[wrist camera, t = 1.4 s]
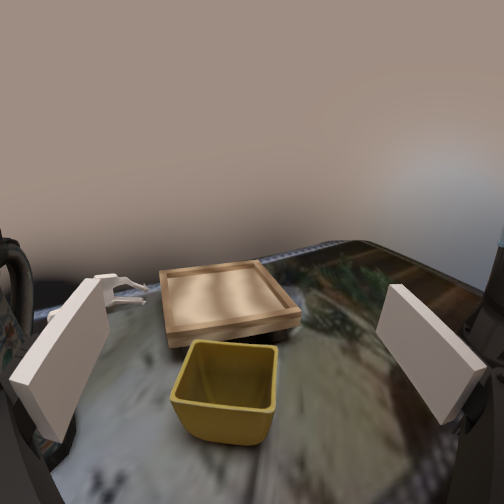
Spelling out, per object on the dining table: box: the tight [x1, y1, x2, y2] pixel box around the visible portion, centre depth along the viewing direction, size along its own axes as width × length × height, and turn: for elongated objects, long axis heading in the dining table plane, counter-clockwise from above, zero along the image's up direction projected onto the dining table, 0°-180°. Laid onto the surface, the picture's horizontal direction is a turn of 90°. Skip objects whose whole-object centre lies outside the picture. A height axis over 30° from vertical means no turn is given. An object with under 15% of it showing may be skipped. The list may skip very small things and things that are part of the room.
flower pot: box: [170, 339, 278, 446], centre depth 27 cm, size 9×9×9 cm
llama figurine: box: [47, 274, 149, 322], centre depth 46 cm, size 2×11×18 cm
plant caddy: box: [159, 260, 302, 357], centre depth 46 cm, size 18×18×6 cm
